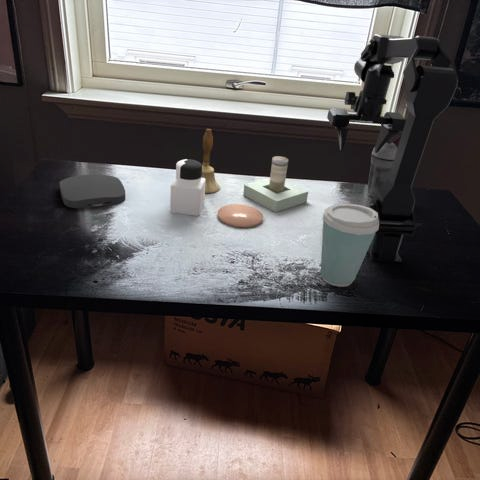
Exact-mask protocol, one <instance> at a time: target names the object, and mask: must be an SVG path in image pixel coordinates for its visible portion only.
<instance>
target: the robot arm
mask: <svg viewBox="0 0 480 480" xmlns="http://www.w3.org/2000/svg"><path fill="white" fill-rule="evenodd" d="M404 59H408V61H407V64H406V66H405V67H404V69H403V72H402V73H403V74H402V75H403V79H404V84H405V91H404V99H405V102H406V107H407V110H408V111H407V116H406V118H405V117H404V116H403V115H402V114H401V113H400V112H393V111H392V112H391V111H386V112H385V113H384V115H382V112H383V107H384V105H387V102H388V100H387V98H386V97H387V94H388V91H389V86H390V84H391V80H392V79H394V78H395V72H394V70H393V68H392V67H393V66H392V65H394V64H399V63H401V62H403V61H404ZM415 60H425V61H429V62H430V64H431V65H432V66H430V65H416V62H415ZM388 64H389V65H388ZM353 66H354V67H353V68H354V73H355V75H356V76H357V77H358V78H359V80H361V82H362V83H363V87H362V90H360V92H359V94H358V95H357V94H356V92H355V91H346V93H345V98H344V105H345V106H350V110H352V111H353V112H354V113H349V112H348V111H347V109H346V108H342V107H341V108H340V107H339V108H338V107H331V108H330V109H328V111H327V116H326V118H327V120H328V122H329V123H330V125H331V126H332V127H334V128H335V130H337V133H338V144H339V150H340V152H342V151H343V150H344V148H345V145H346V140H347V136H348V133H349V128H348V126H349V124H350V123H357V124H358V123H361V124H373V125H380V130H379V131H380V132H379V134H378V137H377V140H376V143H375V145H374V148H375V150H374V152H375V153H377V152H378V151H379V150H380V149H381V148H382V147H383V146H384V145H385V144H386V142H387V141H390V140H391V139H392V138H393V137H395V135H399V134H400V132H402V133H401V136H400V139H399V142H398V146H397V152H396V155H395V158H394V161H393V165H392V168H391V171H390V175H389V178H388V179H387V180H386V181H385V182H379V183H378V184H377V185H376V190H375V193H374V196H373V197H372V199H371V200H370V203H369V206H368V208H371V209H373V210H374V211H376V212H377V213H378V219H379V229H378V231H376V233H375V235H374V237H373V240H372V242H371V244H370V246H369V249H368V251H367V253H368V254H370V255H369V257H370V259H371V260H372V261H377V262H386V261H388V263H396V262H401V263H402V258H401V256H400V254H399V250H400V246H401V244H402V240H403V236H414V234H415V232H416V231H417V225H416V215H415V203H416V198H415V195H414V192H413V189H412V188H413V187H412V186H413V182H414V180H415V177H416V174H417V172H418V168H419V165H420V162H421V160H422V156H423V154H424V152H425V151H424V150H425V148H426V144H427V142H428V139H429V136H430V133H431V130H432V127H433V124H434V122H435V121H434V120H435V119H436V118H437V117H438V116H439V115H440V114H442V113H443V111H445V109H447V108H448V107H449V105H450V103H451V101H452V98H453V97H454V94H455V93H456V91H457V90H458V87H459V76H458V71H457V68H456V65H455V61H454V60H453V59H452V57H450V56H449V55H448V54H447V52H446V51H445V50H444V48H443V45H442V42H441V40H440V39H438V38H437V37H433V36H431V37H430V36H423V35H416V36H413V37H403V36H401V35H400V36H398V35H390V34H378V33H376V34H374V35H373V36H372V38H371V39H370V40H369V41H368V43H367V45H366V46H365V48H364V49H363V50H362V52H361V53H360V57H359V58H358V59H357V60H356V62H355V63H354V65H353Z"/></svg>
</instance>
